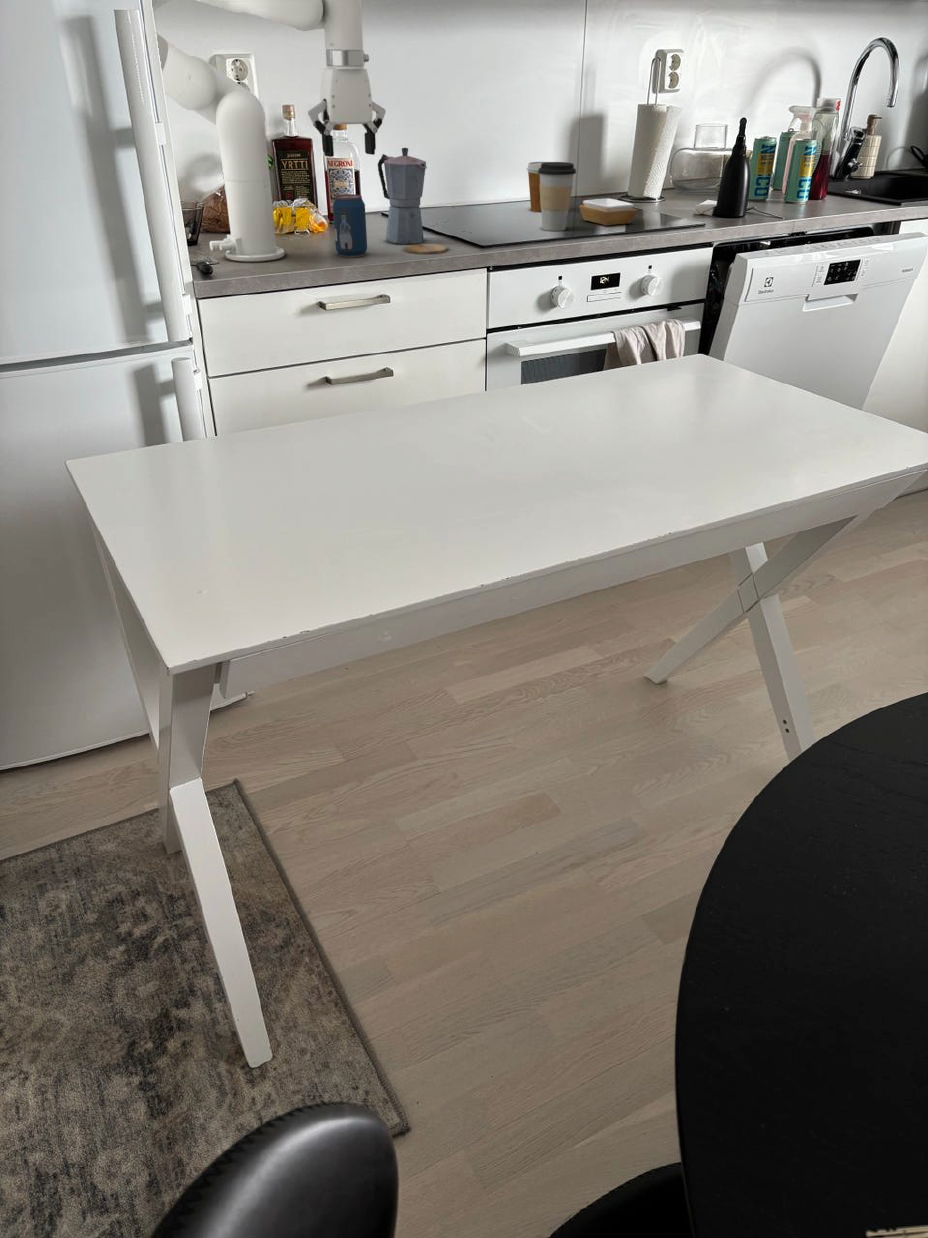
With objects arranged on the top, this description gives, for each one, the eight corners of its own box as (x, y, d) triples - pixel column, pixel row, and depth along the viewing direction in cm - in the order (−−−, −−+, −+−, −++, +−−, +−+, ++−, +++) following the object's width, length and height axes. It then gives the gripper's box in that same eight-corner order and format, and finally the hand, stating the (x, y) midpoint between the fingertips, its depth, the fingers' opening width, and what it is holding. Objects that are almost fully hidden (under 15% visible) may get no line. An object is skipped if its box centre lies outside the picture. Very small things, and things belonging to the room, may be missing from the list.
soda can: (363, 251, 210) (360, 193, 203) (370, 256, 204) (367, 197, 198) (333, 252, 208) (329, 194, 201) (339, 258, 202) (335, 198, 196)
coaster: (418, 255, 206) (418, 252, 205) (398, 248, 212) (398, 246, 212) (453, 251, 210) (453, 248, 210) (433, 244, 216) (433, 242, 216)
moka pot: (415, 247, 213) (412, 150, 203) (365, 240, 221) (360, 146, 211) (441, 241, 220) (440, 147, 209) (391, 234, 228) (388, 143, 217)
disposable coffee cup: (526, 207, 267) (528, 160, 260) (559, 208, 266) (562, 161, 259) (523, 212, 259) (525, 164, 252) (558, 213, 258) (560, 165, 251)
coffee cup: (527, 228, 235) (530, 163, 227) (551, 224, 241) (554, 160, 233) (557, 233, 230) (560, 166, 222) (580, 228, 236) (584, 163, 228)
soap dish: (577, 220, 247) (578, 199, 244) (607, 217, 251) (608, 197, 248) (606, 227, 238) (607, 205, 235) (636, 224, 242) (638, 203, 239)
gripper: (374, 60, 194) (377, 151, 203) (297, 60, 186) (304, 155, 195) (391, 60, 189) (394, 154, 198) (313, 60, 180) (320, 158, 189)
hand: (349, 154), depth 196 cm, fingers open, 9 cm apart
